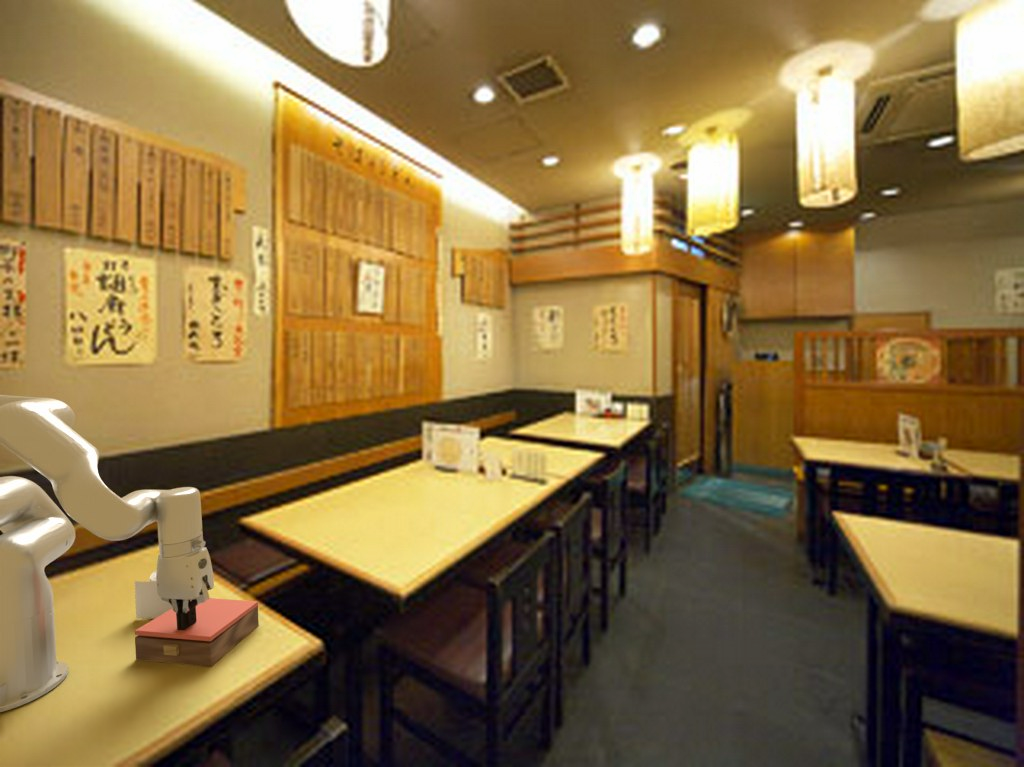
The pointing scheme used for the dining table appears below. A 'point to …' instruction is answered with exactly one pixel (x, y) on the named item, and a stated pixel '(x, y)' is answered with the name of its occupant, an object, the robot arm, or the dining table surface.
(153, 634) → the lid
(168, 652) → the walnut box
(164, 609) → the toilet tissue
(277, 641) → the dining table surface
